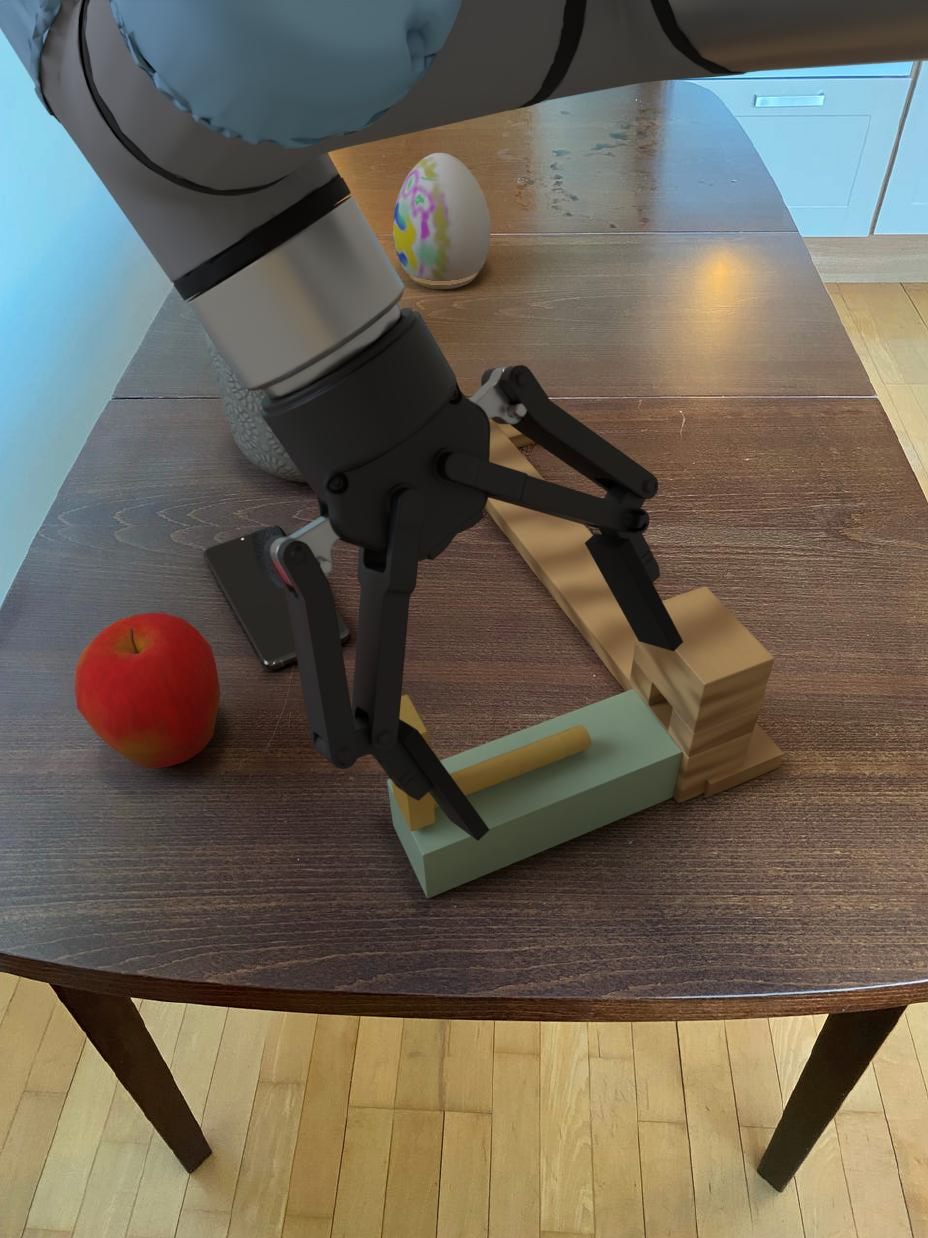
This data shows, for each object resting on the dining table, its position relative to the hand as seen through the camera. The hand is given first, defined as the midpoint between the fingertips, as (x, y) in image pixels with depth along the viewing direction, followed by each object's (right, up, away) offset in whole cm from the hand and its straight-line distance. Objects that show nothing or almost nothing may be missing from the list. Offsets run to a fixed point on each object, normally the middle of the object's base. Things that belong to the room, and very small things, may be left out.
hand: (569, 730), depth 47 cm
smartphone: (-21, +7, +33) cm, 40 cm away
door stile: (-1, -7, +17) cm, 18 cm away
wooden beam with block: (+6, +10, +35) cm, 37 cm away
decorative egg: (-8, +50, +77) cm, 92 cm away
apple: (-26, -4, +22) cm, 34 cm away
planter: (-20, +22, +48) cm, 57 cm away
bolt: (-3, -4, +12) cm, 14 cm away
